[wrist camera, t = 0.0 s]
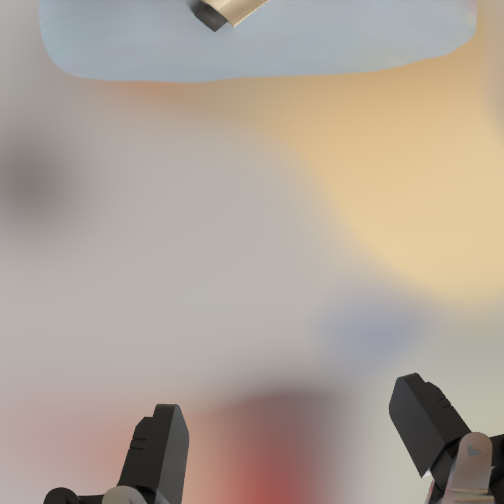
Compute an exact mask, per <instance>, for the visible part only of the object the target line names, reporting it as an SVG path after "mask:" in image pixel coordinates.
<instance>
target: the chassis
mask: <svg viewBox="0 0 504 504" xmlns="http://www.w3.org/2000/svg"><path fill="white" fill-rule="evenodd" d="M200 1H202V2H203V3H204V4H206V5H205V6H204V7H203V8H202V9H200V10H199V11H198V12H197V13H196V14H195V16H196V17H197V18H198V19H199V20H200V21H201V22H203V23H204V24H205V25H206V26H208V27H209V28H210V29H211V30H213V31H214V32H216V31H217V30H218V29H219V28H220V27H222V26H223V25H224V24H225V23H226V22H228V23H229V24H230V25H231V26H232V27H235V26H236V25H238V24H239V23H240V22H241V21H243V20H244V19H245V18H246V17H248V16H249V15H250V14H251V13H253V12H254V11H255V10H257V9H258V8H259V7H261V6H262V5H263V4H265V3H266V2H268V1H269V0H200Z"/></svg>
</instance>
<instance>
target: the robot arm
mask: <svg viewBox="0 0 504 504" xmlns="http://www.w3.org/2000/svg"><path fill="white" fill-rule="evenodd" d="M389 414H390V417H391V419H392V421H393V423H394V425H395V427H396V429H397V431H398V433H399V434H400V437H401V438H402V440H403V442H404V444H405V446H406V448H407V450H408V452H409V454H410V456H411V458H412V460H413V462H414V464H415V466H416V468H417V470H418V472H419V474H420V476H421V478H424V477H426V476H428V475H431V474H432V476H433V478H434V479H433V480H432V482H431V486H430V489H429V492H428V495H427V499H426V502H425V504H504V434H502V435H498V436H494V437H488V436H486V435H485V434H483V433H480V432H471V430H470V429H469V428H468V426H467V425H466V424H465V422H464V421H463V419H462V418H461V417H460V415H459V414H458V413H457V411H456V410H455V409H454V407H453V406H451V403H450V402H449V401H448V399H446V397H445V395H444V394H443V393H442V391H441V390H440V389H439V388H438V387H437V386H435V385H433V384H432V383H430V382H426V383H425V382H424V381H423V379H422V378H421V377H420V375H419V374H417V373H413V374H409V375H406V376H402V377H399V378H398V379H397V380H396V383H395V387H394V390H393V394H392V397H391V400H390V403H389ZM132 438H133V440H131V443H130V449H129V450H128V453H127V456H126V460H125V463H124V466H123V470H122V473H121V477H120V480H119V482H118V484H117V486H116V487H113V488H111V489H110V490H108V491H107V492H106V493H105V494H103V495H95V496H94V495H92V496H77V495H76V494H75V493H74V492H73V491H71V490H70V489H67V488H61V487H59V488H55V489H53V490H51V491H50V492H49V493H48V494H47V495H46V497H45V500H44V503H43V504H181V501H182V492H183V485H184V477H185V469H186V462H187V454H188V447H189V433H188V429H187V426H186V423H185V420H184V418H183V415H182V412H181V409H180V407H179V405H177V404H157V405H156V408H155V411H154V414H153V417H144V418H143V419H142V420H141V421H140V422H139V424H138V425H137V426H136V428H135V431H134V434H133V437H132Z"/></svg>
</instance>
